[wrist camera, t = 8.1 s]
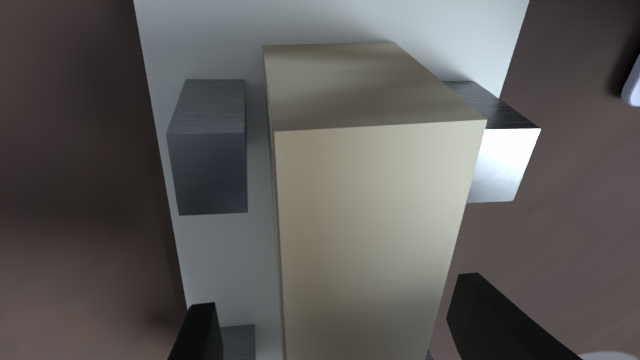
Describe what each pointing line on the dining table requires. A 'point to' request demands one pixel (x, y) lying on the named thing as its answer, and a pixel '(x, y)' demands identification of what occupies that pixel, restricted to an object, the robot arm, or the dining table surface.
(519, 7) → the cradle
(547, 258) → the dining table surface
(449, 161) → the long beige block
